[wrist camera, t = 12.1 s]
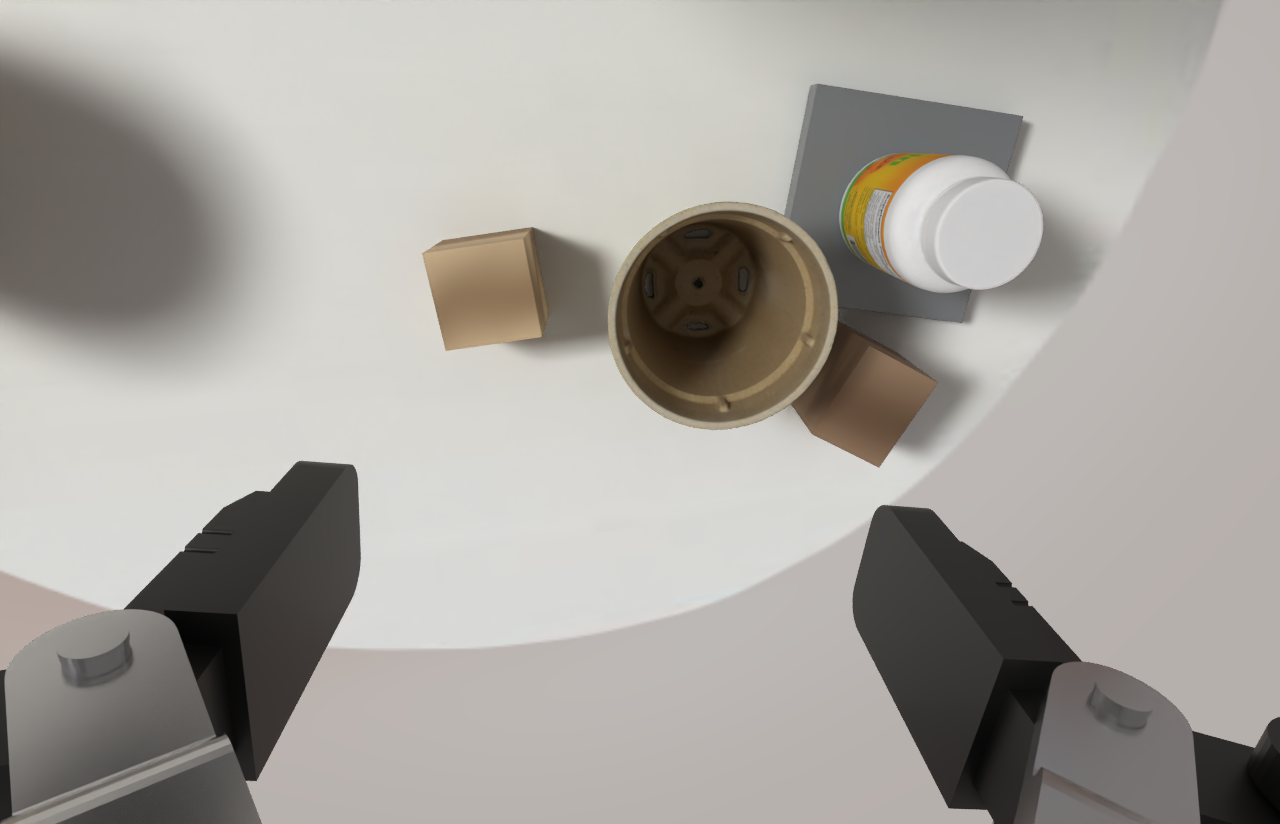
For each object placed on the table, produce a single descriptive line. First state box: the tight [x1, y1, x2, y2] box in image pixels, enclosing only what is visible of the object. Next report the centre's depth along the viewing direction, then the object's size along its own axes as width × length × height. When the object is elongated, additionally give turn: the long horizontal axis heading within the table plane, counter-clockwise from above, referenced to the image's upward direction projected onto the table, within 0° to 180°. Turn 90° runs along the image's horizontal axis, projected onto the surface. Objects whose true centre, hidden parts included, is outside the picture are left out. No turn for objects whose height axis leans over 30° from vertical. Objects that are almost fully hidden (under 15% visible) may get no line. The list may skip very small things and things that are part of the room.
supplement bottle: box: [839, 153, 1044, 293], centre depth 30 cm, size 5×5×10 cm
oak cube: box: [422, 227, 549, 351], centre depth 35 cm, size 4×4×4 cm
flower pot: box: [608, 202, 838, 430], centre depth 33 cm, size 9×9×9 cm
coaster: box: [784, 84, 1023, 323], centre depth 36 cm, size 10×10×1 cm
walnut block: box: [791, 321, 938, 467], centre depth 37 cm, size 5×4×5 cm
